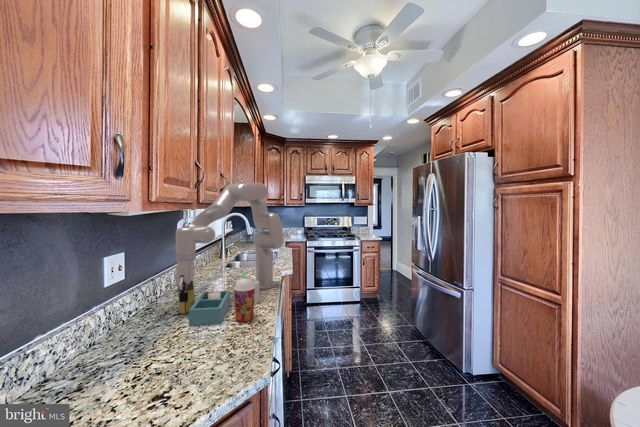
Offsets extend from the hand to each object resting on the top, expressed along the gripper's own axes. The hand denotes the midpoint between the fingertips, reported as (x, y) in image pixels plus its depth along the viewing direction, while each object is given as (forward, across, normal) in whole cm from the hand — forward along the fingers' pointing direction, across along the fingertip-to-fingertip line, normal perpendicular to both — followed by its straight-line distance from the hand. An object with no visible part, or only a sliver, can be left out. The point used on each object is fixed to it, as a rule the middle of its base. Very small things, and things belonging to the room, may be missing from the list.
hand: (186, 298), depth 116 cm
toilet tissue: (+7, -9, +24) cm, 26 cm away
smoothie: (+7, +11, +25) cm, 28 cm away
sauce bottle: (+7, 0, 0) cm, 7 cm away
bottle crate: (+7, +4, +11) cm, 13 cm away
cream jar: (+6, -1, +11) cm, 12 cm away
